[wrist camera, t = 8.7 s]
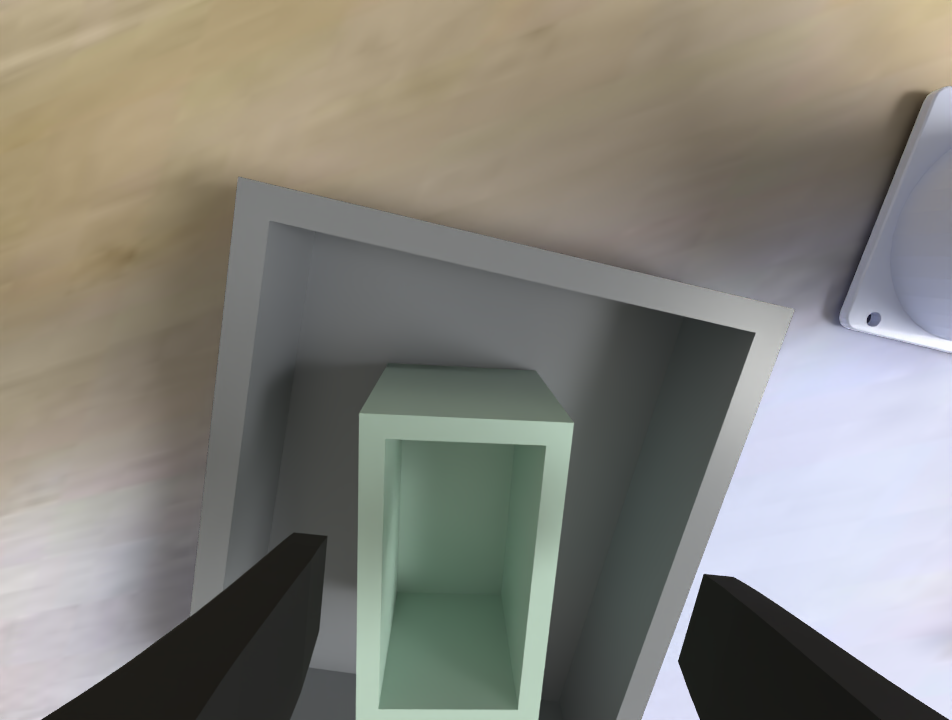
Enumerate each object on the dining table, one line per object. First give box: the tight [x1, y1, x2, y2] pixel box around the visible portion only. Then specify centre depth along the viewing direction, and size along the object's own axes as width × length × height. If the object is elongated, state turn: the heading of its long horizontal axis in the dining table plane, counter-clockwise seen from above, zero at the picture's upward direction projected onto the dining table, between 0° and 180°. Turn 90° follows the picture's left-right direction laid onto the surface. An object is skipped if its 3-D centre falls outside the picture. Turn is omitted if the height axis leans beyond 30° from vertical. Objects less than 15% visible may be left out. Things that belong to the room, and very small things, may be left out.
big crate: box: [190, 177, 795, 720], centre depth 15 cm, size 14×18×4 cm
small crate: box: [356, 363, 574, 720], centre depth 14 cm, size 5×9×5 cm, turn 176°
